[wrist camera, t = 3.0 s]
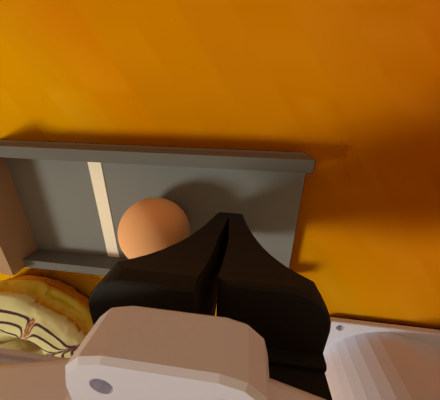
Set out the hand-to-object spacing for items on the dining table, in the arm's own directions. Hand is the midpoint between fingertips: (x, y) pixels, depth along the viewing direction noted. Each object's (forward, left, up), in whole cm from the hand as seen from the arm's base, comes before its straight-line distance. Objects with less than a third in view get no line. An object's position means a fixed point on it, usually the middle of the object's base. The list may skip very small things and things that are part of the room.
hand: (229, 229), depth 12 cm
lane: (+5, 0, -2) cm, 6 cm away
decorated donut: (+15, +11, -2) cm, 19 cm away
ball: (+4, 0, +1) cm, 4 cm away
